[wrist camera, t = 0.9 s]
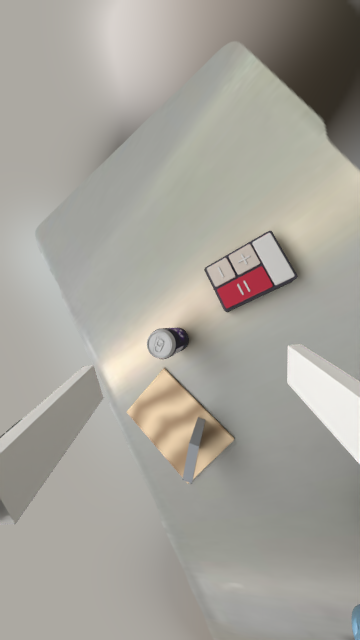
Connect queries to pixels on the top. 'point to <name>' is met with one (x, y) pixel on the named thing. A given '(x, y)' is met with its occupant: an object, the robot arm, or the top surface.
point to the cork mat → (177, 422)
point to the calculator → (250, 272)
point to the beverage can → (167, 342)
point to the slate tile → (193, 450)
